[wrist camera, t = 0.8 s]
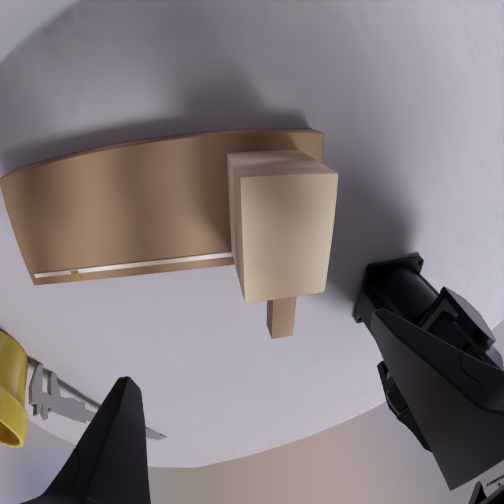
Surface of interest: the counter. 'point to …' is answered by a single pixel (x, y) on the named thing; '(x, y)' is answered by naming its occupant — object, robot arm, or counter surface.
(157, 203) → the walnut board
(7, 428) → the plant pot
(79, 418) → the caliper
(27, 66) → the counter surface
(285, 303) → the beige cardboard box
